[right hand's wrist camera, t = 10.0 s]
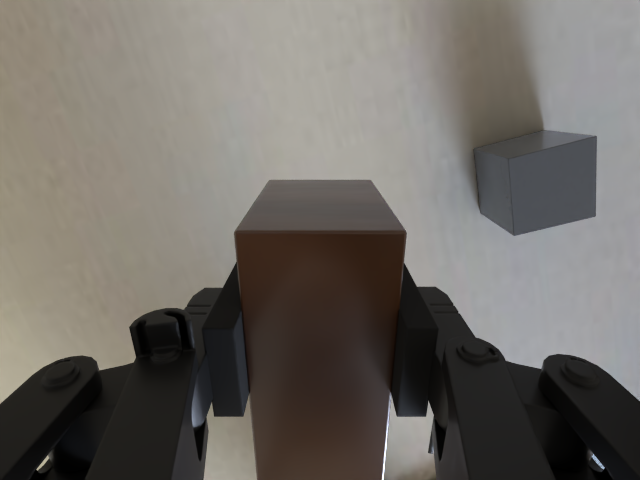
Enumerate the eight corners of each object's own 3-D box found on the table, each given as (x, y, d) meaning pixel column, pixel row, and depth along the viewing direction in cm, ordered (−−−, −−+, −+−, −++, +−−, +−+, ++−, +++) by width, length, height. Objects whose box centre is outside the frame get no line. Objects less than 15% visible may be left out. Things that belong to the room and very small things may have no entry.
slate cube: (473, 148, 25) (508, 158, 20) (544, 129, 25) (597, 135, 20) (480, 213, 27) (513, 236, 22) (547, 197, 26) (596, 216, 22)
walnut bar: (268, 179, 14) (233, 231, 8) (371, 179, 14) (407, 231, 8) (288, 556, 22) (277, 708, 17) (351, 556, 22) (362, 708, 17)
